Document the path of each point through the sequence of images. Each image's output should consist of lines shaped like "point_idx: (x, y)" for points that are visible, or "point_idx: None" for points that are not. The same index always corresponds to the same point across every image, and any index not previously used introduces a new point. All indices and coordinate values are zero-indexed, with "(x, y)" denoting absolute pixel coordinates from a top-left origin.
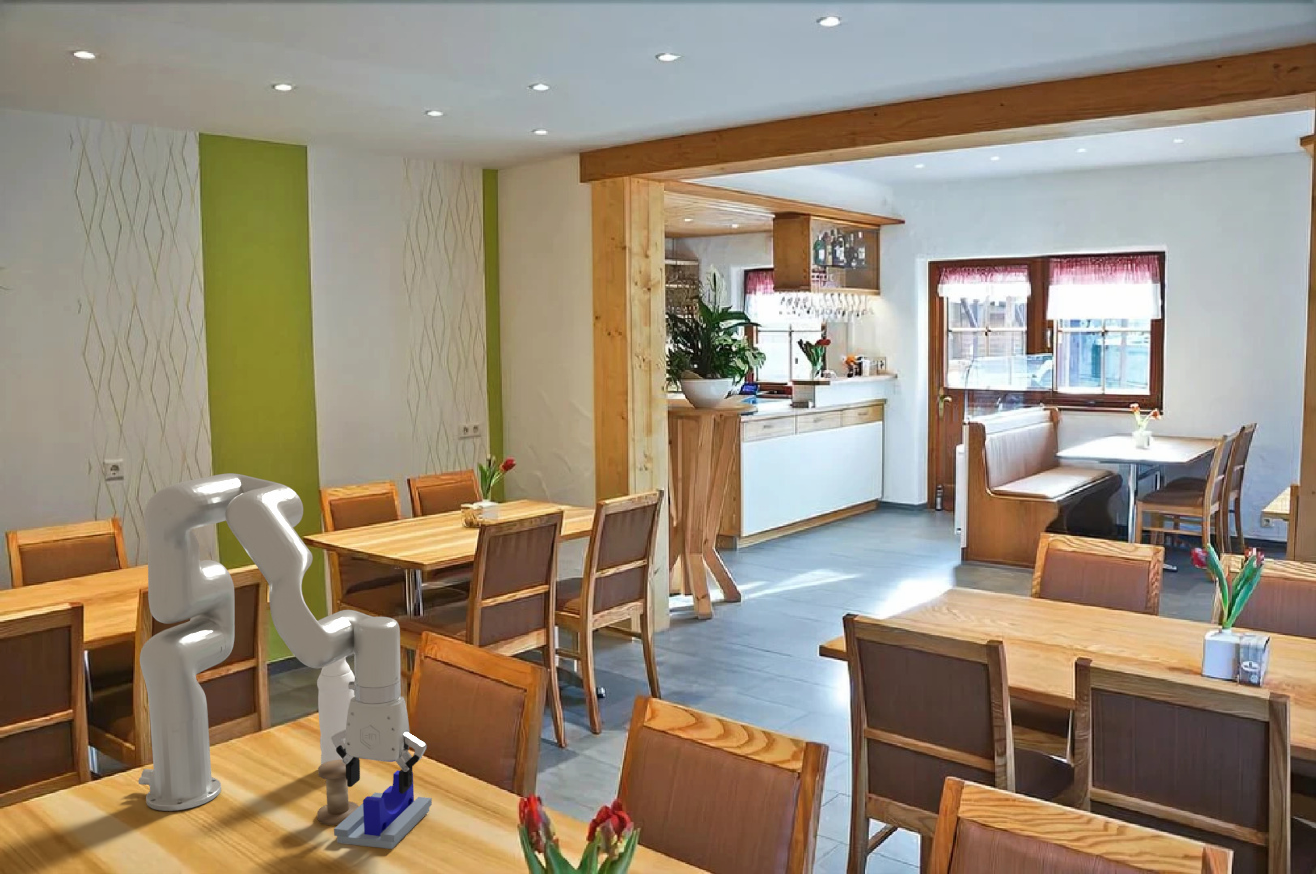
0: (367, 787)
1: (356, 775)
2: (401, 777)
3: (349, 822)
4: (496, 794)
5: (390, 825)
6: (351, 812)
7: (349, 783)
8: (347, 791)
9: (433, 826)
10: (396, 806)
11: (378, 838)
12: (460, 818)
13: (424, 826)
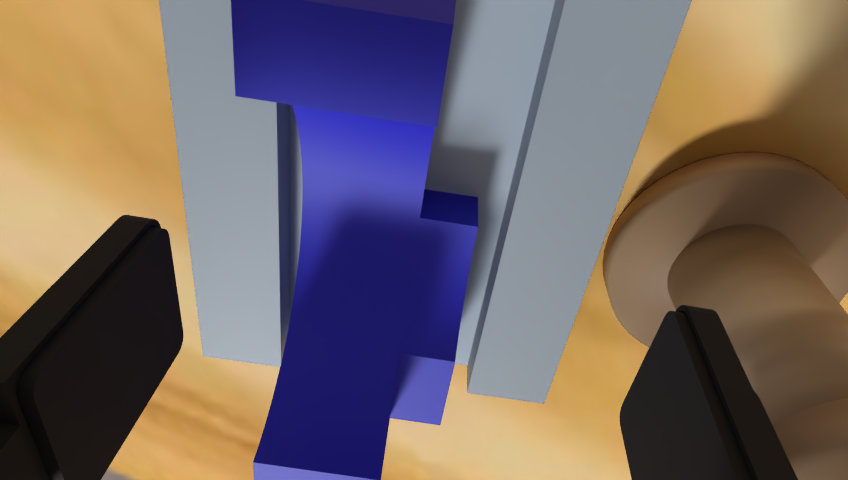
0: (622, 476)
1: (652, 430)
2: (26, 327)
3: (608, 42)
4: None
5: None
6: (642, 253)
7: (699, 325)
8: None
9: (128, 165)
10: (333, 252)
11: None
12: (47, 248)
13: (178, 162)
